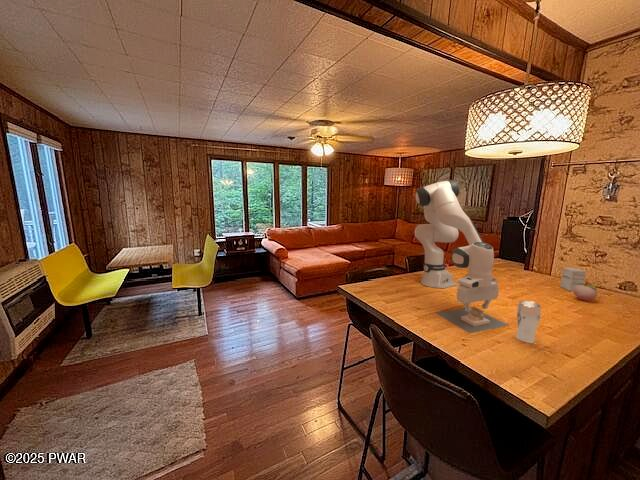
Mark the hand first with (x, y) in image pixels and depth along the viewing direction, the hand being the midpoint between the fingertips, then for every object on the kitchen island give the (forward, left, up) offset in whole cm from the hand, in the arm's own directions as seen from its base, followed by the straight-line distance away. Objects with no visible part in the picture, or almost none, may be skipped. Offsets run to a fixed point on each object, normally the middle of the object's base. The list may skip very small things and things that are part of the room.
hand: (476, 309), depth 115 cm
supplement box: (-92, -16, -6) cm, 94 cm away
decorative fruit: (-77, -2, -6) cm, 77 cm away
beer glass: (-6, +17, -6) cm, 19 cm away
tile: (-4, 0, -5) cm, 6 cm away
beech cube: (0, 0, -4) cm, 4 cm away
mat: (0, -3, -6) cm, 7 cm away
